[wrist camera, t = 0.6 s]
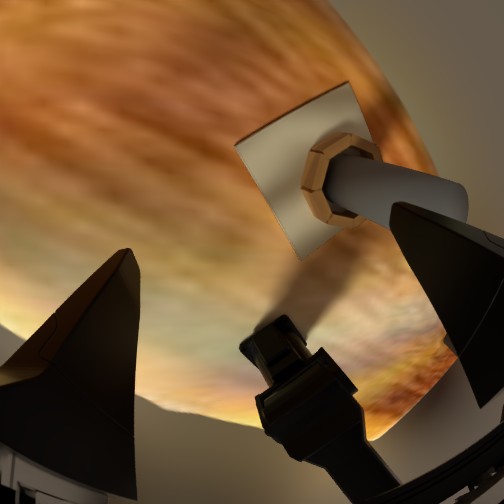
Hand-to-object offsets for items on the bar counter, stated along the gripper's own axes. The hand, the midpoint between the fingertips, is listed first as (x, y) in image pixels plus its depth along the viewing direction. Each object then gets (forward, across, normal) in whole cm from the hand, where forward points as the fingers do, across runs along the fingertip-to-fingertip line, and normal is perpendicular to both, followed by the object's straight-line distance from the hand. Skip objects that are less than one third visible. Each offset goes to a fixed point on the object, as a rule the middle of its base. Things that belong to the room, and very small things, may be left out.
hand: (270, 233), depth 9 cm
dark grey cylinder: (+17, -10, +6) cm, 20 cm away
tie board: (+17, -9, +5) cm, 20 cm away
